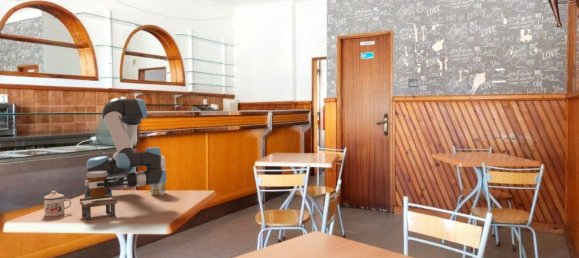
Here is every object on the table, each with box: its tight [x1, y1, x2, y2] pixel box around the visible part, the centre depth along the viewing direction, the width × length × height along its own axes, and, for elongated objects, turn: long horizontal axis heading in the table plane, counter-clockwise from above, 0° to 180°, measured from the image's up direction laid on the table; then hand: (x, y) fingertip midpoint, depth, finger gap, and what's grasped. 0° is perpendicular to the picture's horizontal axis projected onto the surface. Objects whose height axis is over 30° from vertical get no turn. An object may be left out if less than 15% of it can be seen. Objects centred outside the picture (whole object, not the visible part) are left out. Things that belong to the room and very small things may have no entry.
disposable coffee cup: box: [85, 171, 108, 198], centre depth 209 cm, size 10×10×12 cm
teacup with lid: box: [43, 190, 72, 217], centre depth 214 cm, size 12×9×12 cm
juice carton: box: [149, 154, 167, 196], centre depth 262 cm, size 9×8×24 cm
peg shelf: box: [79, 195, 118, 221], centre depth 210 cm, size 12×14×8 cm
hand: (87, 184), depth 206 cm, fingers closed on disposable coffee cup, 8 cm apart
